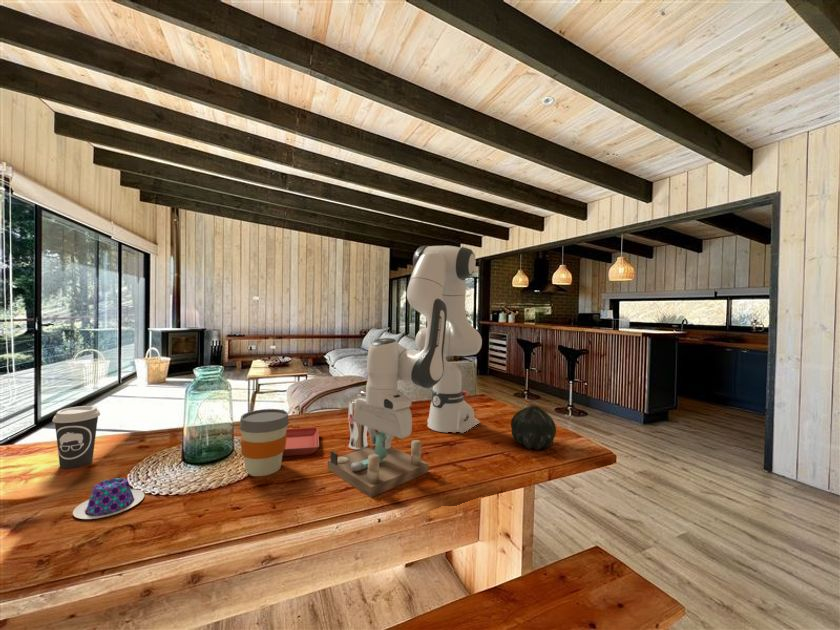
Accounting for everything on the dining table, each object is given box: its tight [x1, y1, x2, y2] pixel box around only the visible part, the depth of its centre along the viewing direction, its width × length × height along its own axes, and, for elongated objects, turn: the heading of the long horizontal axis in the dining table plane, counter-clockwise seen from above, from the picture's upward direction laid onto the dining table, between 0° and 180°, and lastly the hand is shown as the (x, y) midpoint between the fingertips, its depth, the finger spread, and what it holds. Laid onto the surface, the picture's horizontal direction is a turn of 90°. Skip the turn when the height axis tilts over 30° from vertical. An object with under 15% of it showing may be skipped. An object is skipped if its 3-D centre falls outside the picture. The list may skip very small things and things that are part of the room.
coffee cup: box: [52, 405, 101, 470], centre depth 98 cm, size 10×10×15 cm
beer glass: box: [347, 398, 369, 451], centre depth 116 cm, size 7×7×15 cm
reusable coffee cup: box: [238, 408, 290, 477], centre depth 98 cm, size 13×13×15 cm
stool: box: [327, 430, 429, 498], centre depth 99 cm, size 20×20×8 cm
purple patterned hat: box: [72, 477, 145, 520], centre depth 79 cm, size 12×12×5 cm
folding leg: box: [351, 431, 387, 471], centre depth 96 cm, size 11×3×8 cm, turn 135°
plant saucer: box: [282, 427, 320, 457], centre depth 114 cm, size 18×18×3 cm
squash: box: [510, 405, 557, 451], centre depth 122 cm, size 14×15×15 cm
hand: (380, 445), depth 99 cm, fingers open, 4 cm apart
